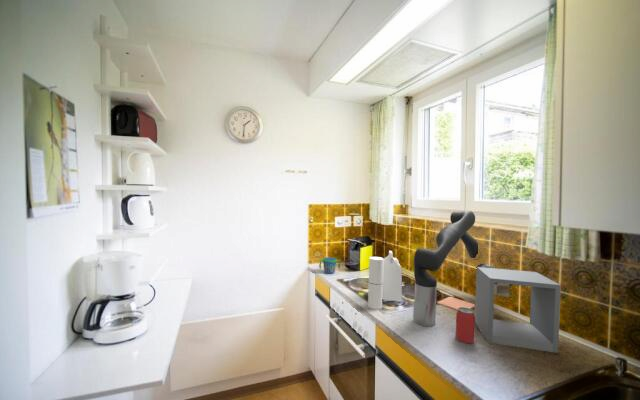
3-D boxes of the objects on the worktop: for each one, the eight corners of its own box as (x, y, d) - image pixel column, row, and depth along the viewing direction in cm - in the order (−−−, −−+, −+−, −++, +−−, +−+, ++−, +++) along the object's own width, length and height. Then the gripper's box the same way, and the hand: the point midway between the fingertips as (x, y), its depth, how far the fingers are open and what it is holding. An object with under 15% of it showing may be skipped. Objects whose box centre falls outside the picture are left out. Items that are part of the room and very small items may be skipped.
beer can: (472, 337, 108) (473, 308, 108) (475, 345, 102) (477, 315, 102) (454, 334, 110) (455, 305, 110) (456, 342, 104) (458, 312, 104)
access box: (557, 352, 99) (560, 285, 98) (487, 342, 105) (490, 278, 104) (533, 330, 115) (536, 272, 115) (474, 321, 122) (476, 266, 121)
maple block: (509, 296, 119) (510, 275, 119) (496, 295, 121) (497, 273, 120) (504, 293, 124) (505, 272, 124) (492, 291, 125) (493, 270, 125)
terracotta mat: (464, 312, 131) (464, 311, 131) (437, 303, 142) (437, 302, 142) (476, 306, 140) (476, 304, 140) (449, 297, 151) (449, 296, 151)
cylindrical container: (365, 306, 136) (366, 258, 135) (372, 302, 141) (374, 255, 141) (377, 310, 131) (379, 260, 130) (384, 306, 136) (386, 258, 136)
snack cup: (337, 270, 200) (338, 256, 199) (341, 274, 189) (342, 260, 189) (317, 271, 196) (318, 257, 196) (320, 275, 186) (321, 261, 186)
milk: (378, 292, 155) (379, 249, 154) (398, 294, 153) (399, 250, 153) (379, 301, 143) (381, 253, 143) (401, 302, 142) (403, 254, 141)
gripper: (475, 264, 138) (486, 273, 122) (506, 267, 134) (522, 276, 118) (474, 278, 138) (485, 289, 122) (505, 282, 134) (521, 293, 118)
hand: (503, 283), depth 120 cm, fingers closed on maple block, 5 cm apart
